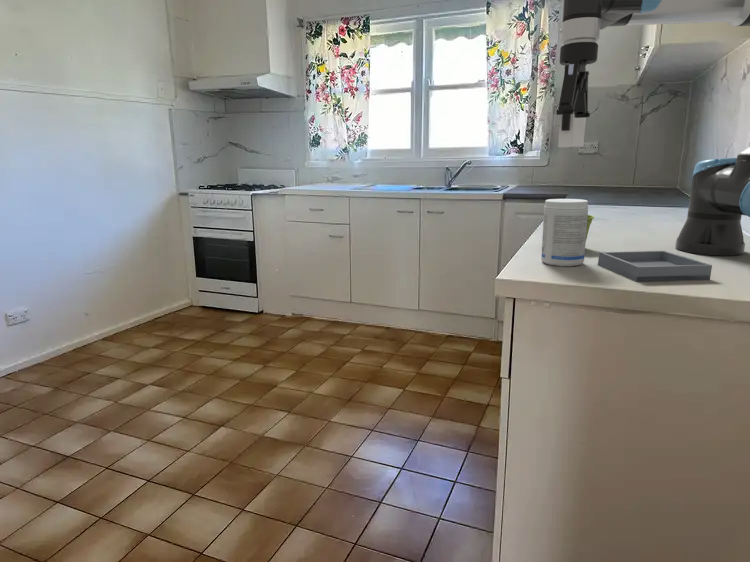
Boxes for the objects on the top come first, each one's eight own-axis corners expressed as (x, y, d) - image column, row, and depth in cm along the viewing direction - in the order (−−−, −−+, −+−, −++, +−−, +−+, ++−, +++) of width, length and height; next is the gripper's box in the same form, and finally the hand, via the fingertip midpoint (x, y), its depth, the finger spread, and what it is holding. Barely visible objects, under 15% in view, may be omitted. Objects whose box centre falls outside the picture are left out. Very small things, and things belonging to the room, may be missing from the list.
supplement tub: (592, 264, 120) (598, 200, 116) (566, 269, 115) (572, 203, 111) (557, 257, 127) (562, 197, 124) (531, 261, 122) (536, 199, 119)
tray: (662, 263, 120) (664, 250, 119) (709, 279, 105) (712, 265, 104) (597, 264, 119) (599, 252, 118) (636, 281, 103) (638, 267, 103)
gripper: (572, 54, 121) (565, 147, 126) (547, 35, 100) (540, 147, 106) (606, 50, 117) (598, 146, 123) (588, 30, 97) (578, 147, 102)
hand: (571, 147), depth 114 cm, fingers open, 13 cm apart
